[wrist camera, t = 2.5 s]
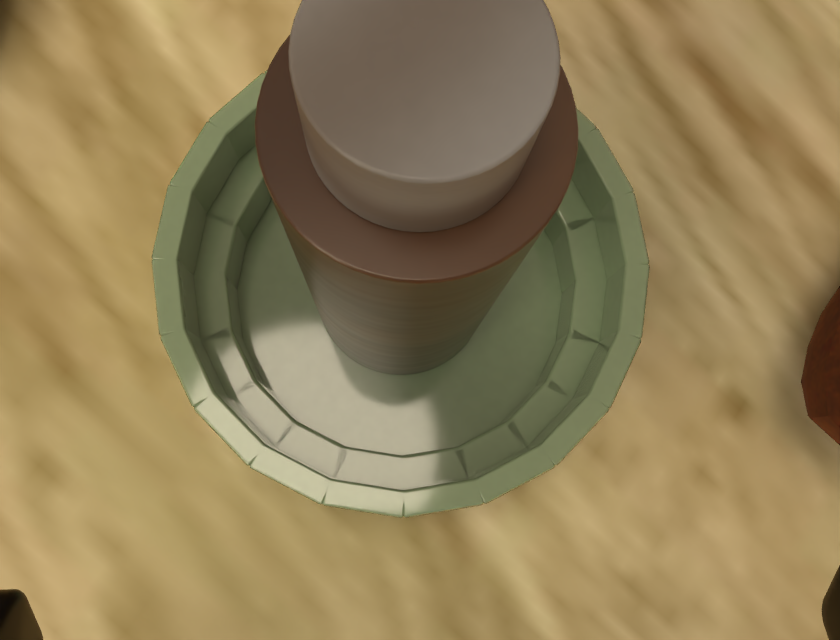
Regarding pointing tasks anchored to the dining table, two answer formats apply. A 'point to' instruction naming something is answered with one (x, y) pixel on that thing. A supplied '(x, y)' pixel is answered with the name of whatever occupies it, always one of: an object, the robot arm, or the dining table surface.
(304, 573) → the dining table surface
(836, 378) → the potato
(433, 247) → the pepper mill
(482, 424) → the green round dish
